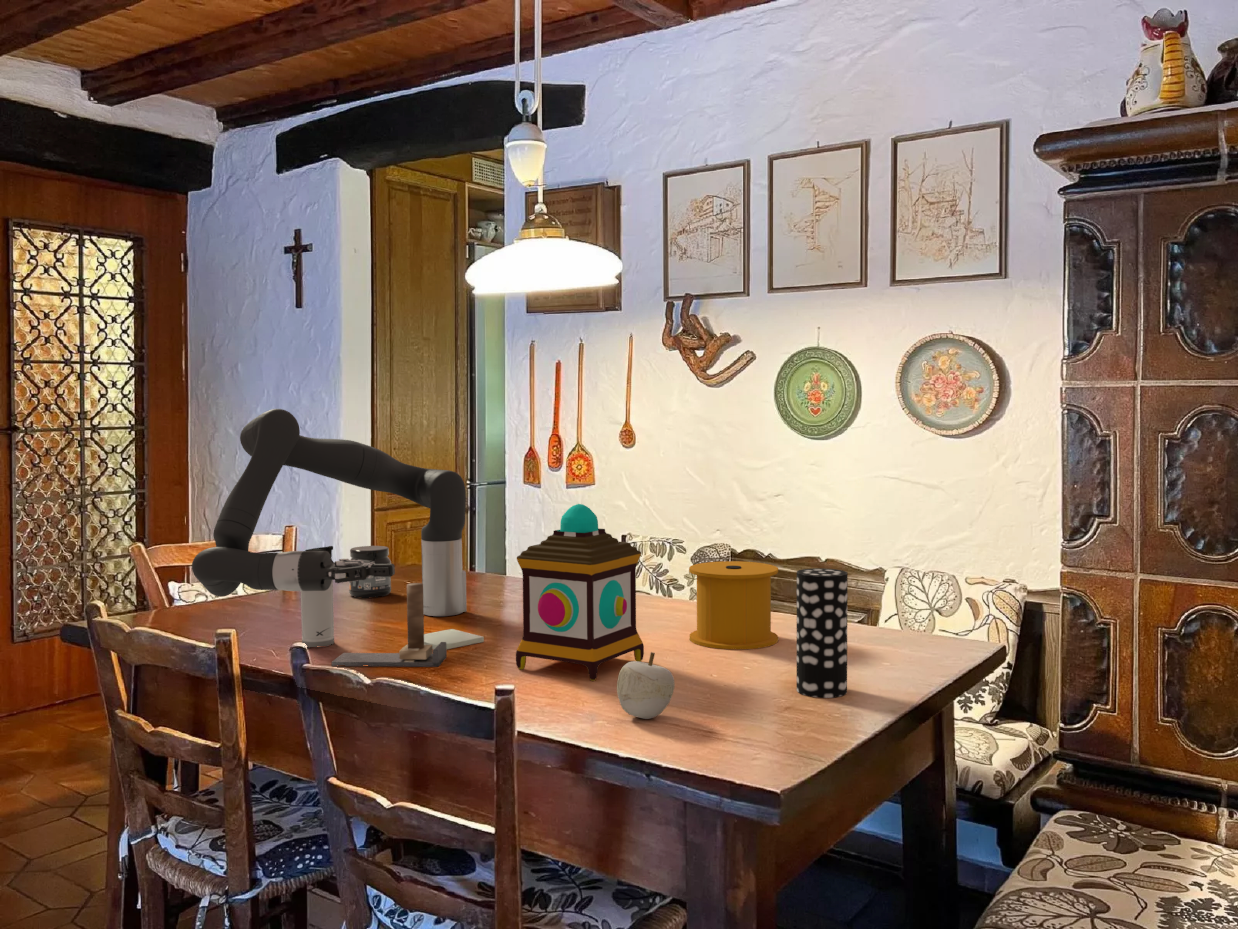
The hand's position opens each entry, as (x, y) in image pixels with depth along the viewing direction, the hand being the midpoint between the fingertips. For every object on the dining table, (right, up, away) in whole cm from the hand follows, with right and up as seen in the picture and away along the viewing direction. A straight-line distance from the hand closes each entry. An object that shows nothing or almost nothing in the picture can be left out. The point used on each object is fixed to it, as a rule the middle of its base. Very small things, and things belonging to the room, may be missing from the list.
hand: (393, 570), depth 197 cm
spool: (+66, -16, +18) cm, 70 cm away
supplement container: (-21, -14, +71) cm, 75 cm away
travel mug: (-18, -17, +16) cm, 30 cm away
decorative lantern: (+35, -18, -3) cm, 39 cm away
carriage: (+4, -16, +1) cm, 17 cm away
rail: (-1, -17, +1) cm, 17 cm away
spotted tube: (+76, -18, -21) cm, 81 cm away
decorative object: (+46, -19, -35) cm, 61 cm away
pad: (+7, -16, +17) cm, 25 cm away
